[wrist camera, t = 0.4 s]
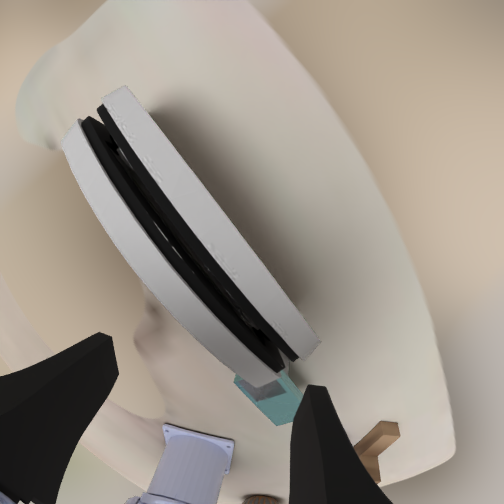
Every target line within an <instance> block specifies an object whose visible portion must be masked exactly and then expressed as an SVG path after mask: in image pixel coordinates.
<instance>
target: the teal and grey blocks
mask: <svg viewBox="0 0 504 504" xmlns="http://www.w3.org/2000/svg"><path fill="white" fill-rule="evenodd" d="M278 349H279V348H278ZM279 352H280V354H281V357H282V359H283V362H284V364H285V368H284V369H283V370H281V371H280V372H281V378H279V379H276V380H274V381H272V382H270V383H268V384H265V385H263V386H261V387H254V386H253V385H251V384H250V383H248V382H247V381H246V380H244V379H243V378H241V377H240V376H239V375H237V374H236V376H235V380H234V383H235V384H236V385H237V386H238V388H239V389H240V390H241V391H242V392H243V393H244V394H245V395H246V396H247V397H248V398H249V399H250V400H251V401H252V402H253V403H254V404H255V405H256V406H257V407H258V408H259V409H260V410H261V411H262V412H263V413H264V414H265V415H266V416H267V417H268V418H269V419H270V420H271V421H272V422H273V423H274V424H275V425H276V426H279V425H282V424H286V423H290V422H293V418H294V416H295V414H296V412H297V409H298V407H299V405H300V402H301V400H302V398H303V394H302V393H301V392H300V390H299V389H298V388H297V387H296V385H295V384H294V383H293V382H292V380H291V379H290V378H289V377H288V374H289V359H288V358H287V356H286V355H285V354H284V353H283V352H282V351H281V350H280V349H279Z"/></svg>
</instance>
